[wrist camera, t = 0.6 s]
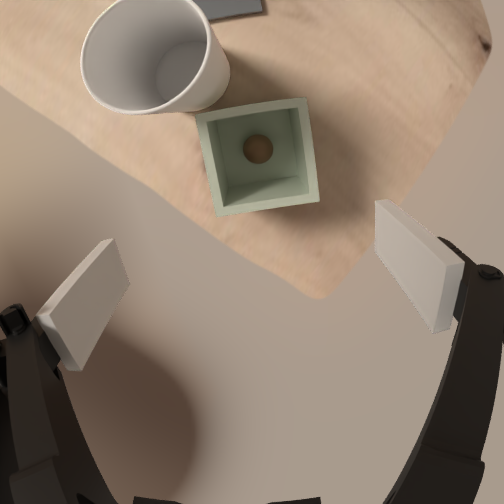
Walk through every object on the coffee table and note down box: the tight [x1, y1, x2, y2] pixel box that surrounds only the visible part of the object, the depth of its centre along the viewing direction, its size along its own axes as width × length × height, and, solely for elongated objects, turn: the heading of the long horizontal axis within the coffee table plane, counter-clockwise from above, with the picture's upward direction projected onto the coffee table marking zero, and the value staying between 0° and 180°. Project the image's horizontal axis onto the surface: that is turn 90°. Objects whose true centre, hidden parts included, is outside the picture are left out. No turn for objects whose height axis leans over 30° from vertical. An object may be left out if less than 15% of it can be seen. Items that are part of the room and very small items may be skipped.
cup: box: [80, 0, 230, 115], centre depth 21 cm, size 8×8×16 cm
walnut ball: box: [243, 134, 273, 164], centre depth 30 cm, size 3×3×3 cm
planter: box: [195, 97, 320, 217], centre depth 28 cm, size 9×9×8 cm
